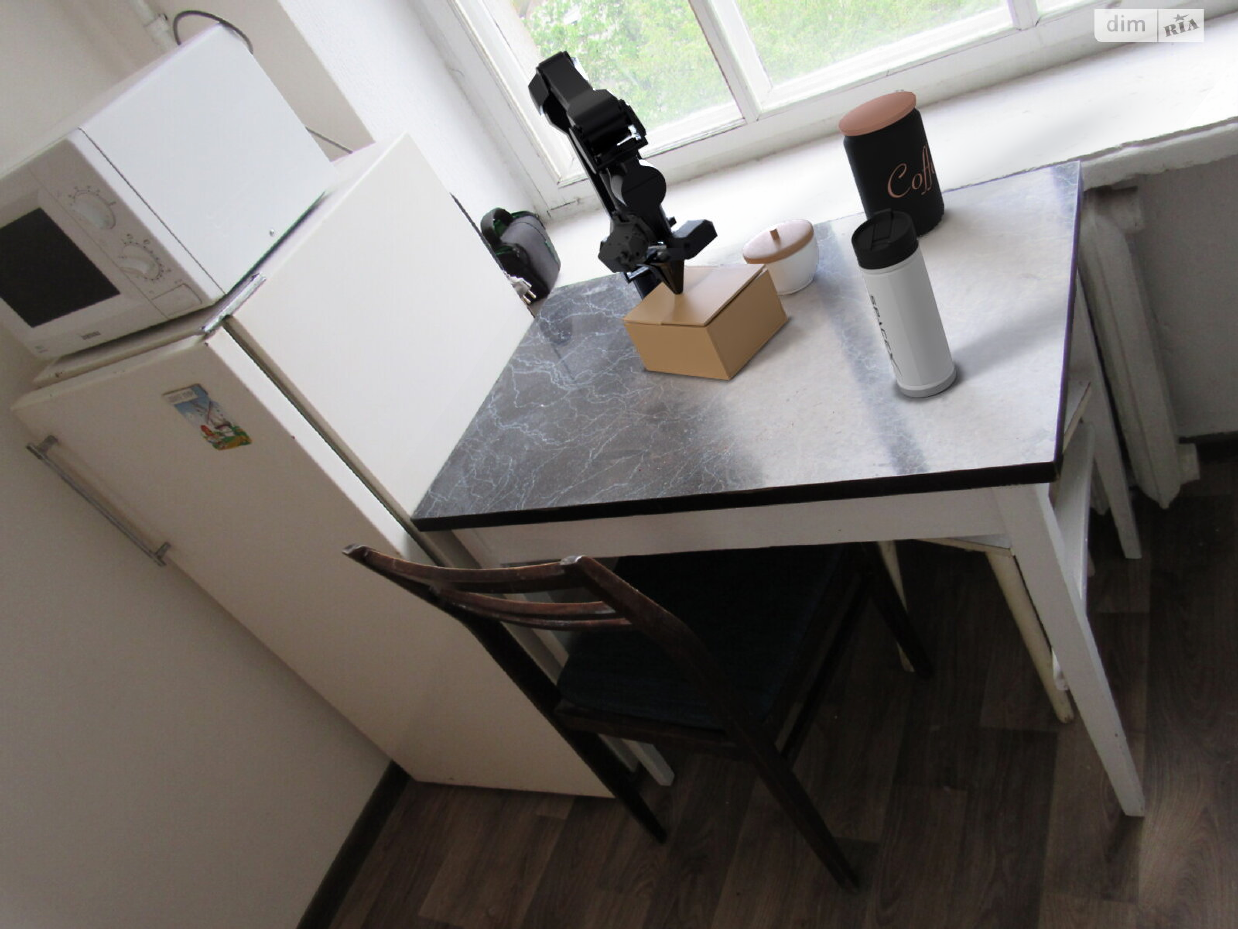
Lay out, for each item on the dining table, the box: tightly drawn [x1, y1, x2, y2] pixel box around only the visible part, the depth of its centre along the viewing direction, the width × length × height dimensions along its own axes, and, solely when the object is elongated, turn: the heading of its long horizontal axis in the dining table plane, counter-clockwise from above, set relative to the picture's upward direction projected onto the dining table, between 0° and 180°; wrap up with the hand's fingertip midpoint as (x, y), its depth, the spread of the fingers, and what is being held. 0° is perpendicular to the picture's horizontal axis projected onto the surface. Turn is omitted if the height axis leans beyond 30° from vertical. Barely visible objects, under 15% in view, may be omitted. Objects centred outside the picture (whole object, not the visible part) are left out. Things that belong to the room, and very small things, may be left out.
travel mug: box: [850, 208, 957, 398], centre depth 93 cm, size 6×7×20 cm
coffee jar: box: [837, 90, 946, 238], centre depth 124 cm, size 11×11×18 cm
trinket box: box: [741, 218, 820, 296], centre depth 128 cm, size 11×11×9 cm
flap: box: [621, 264, 720, 325], centre depth 125 cm, size 8×14×1 cm, turn 135°
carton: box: [623, 263, 789, 381], centre depth 124 cm, size 17×14×9 cm
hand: (679, 293), depth 124 cm, fingers closed, pressing on flap
